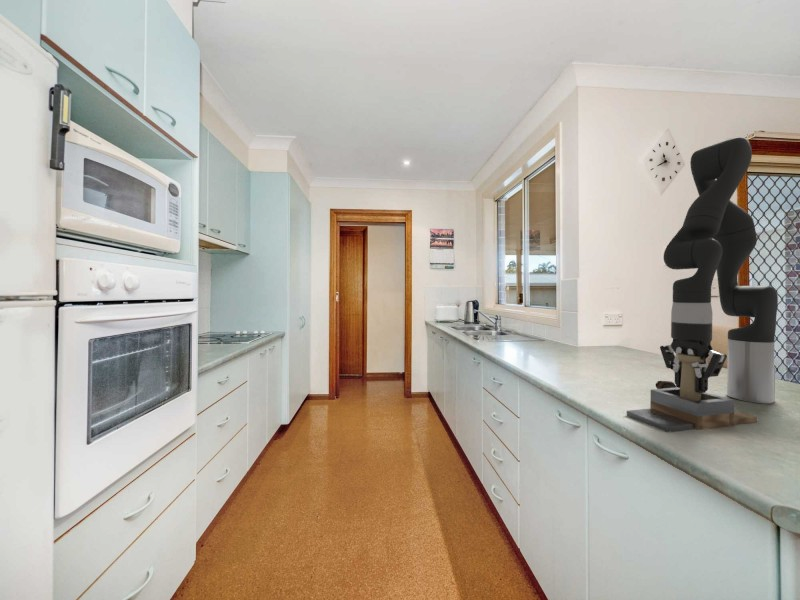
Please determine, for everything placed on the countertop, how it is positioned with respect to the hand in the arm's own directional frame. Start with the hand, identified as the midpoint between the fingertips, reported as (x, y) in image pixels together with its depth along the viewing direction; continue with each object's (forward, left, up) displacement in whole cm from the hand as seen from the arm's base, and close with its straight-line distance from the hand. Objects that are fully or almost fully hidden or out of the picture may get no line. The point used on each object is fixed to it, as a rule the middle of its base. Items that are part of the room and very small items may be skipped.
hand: (690, 389), depth 79 cm
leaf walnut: (-4, 0, -7) cm, 8 cm away
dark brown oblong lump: (-12, -13, -8) cm, 19 cm away
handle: (0, 0, -6) cm, 6 cm away
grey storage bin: (+4, 0, -7) cm, 8 cm away
